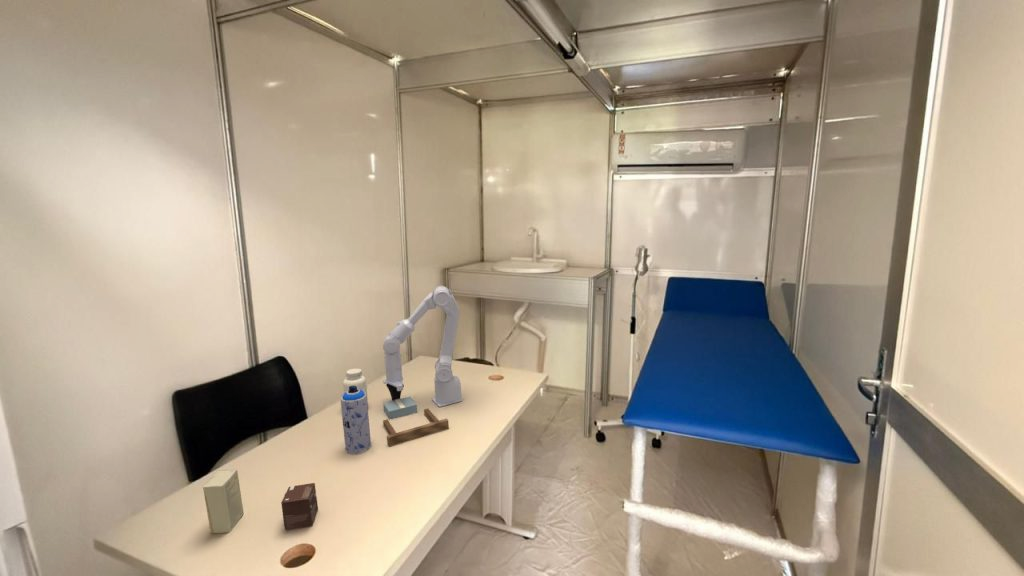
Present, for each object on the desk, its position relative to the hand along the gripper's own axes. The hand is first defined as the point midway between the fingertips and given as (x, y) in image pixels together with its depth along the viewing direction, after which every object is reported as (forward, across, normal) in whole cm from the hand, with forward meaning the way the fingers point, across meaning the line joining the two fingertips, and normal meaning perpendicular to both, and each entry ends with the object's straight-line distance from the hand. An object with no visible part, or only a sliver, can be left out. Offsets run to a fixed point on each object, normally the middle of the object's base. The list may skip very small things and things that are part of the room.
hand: (396, 402), depth 156 cm
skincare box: (+2, +38, -51) cm, 64 cm away
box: (+2, +46, -36) cm, 59 cm away
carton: (+2, +5, 0) cm, 6 cm away
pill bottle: (+2, -6, -13) cm, 14 cm away
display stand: (+2, +19, 0) cm, 19 cm away
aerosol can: (+2, +21, -18) cm, 28 cm away
